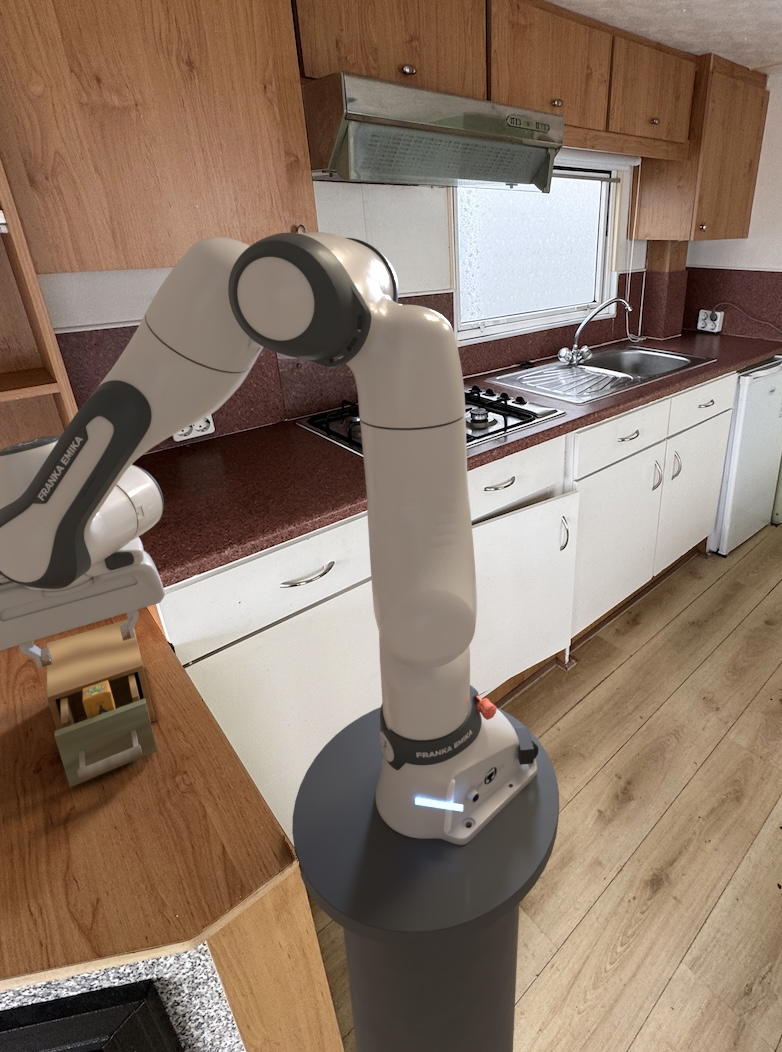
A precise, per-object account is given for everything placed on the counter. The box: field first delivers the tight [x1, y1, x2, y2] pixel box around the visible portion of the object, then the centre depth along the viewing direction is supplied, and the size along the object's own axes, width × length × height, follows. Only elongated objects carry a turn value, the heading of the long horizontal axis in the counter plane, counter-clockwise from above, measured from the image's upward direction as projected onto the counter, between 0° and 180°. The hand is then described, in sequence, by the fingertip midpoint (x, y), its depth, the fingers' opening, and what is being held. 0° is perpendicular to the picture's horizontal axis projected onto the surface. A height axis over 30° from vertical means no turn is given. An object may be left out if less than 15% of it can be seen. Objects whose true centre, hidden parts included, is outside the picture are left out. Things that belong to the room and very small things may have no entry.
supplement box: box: [82, 680, 116, 719], centre depth 82 cm, size 3×3×10 cm
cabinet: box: [46, 619, 156, 731], centre depth 91 cm, size 15×12×11 cm
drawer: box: [54, 673, 158, 788], centre depth 83 cm, size 18×10×9 cm, turn 37°
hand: (88, 650), depth 78 cm, fingers open, 8 cm apart
